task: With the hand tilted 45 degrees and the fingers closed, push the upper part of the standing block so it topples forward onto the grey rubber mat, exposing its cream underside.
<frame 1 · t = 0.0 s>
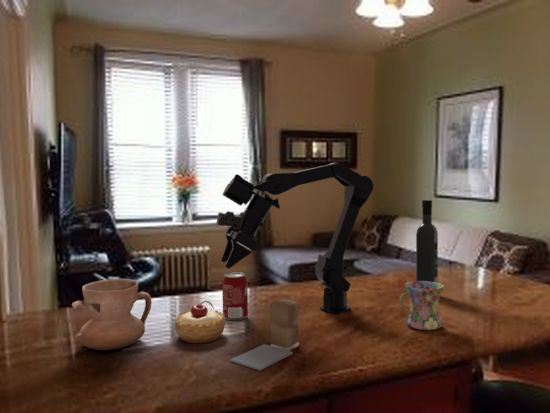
hand: (224, 264, 126), 15 cm above the counter, tool tilted 35°, fingers open, 9 cm apart
mug: (419, 328, 118), on the counter
soda can: (235, 318, 128), on the counter
mat: (262, 357, 100), on the counter
ceramic jug: (115, 344, 110), on the counter
pastry: (200, 337, 114), on the counter
wine bottle: (426, 296, 148), on the counter
block: (284, 346, 106), on the counter
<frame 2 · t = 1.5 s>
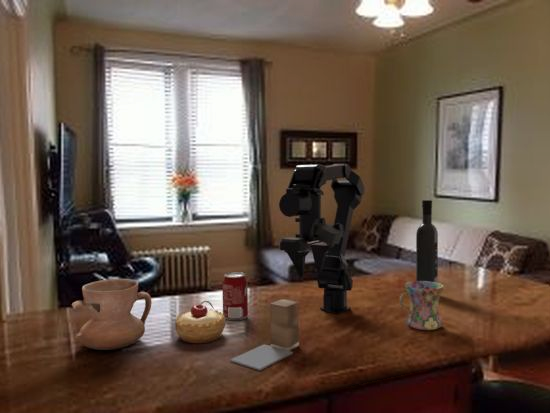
hand: (310, 274, 121), 13 cm above the counter, tool pointing down, fingers open, 8 cm apart
nothing on the counter moved.
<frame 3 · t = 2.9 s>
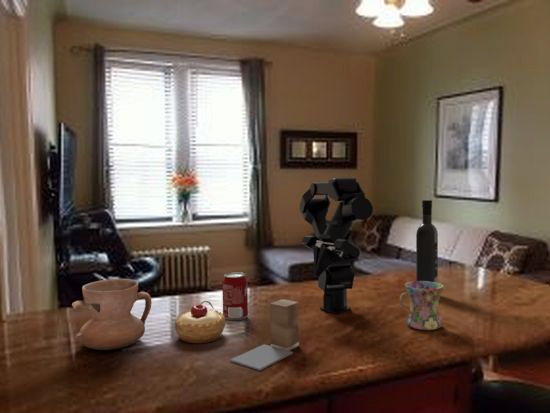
hand: (315, 276, 120), 13 cm above the counter, tool tilted 35°, fingers closed
nothing on the counter moved.
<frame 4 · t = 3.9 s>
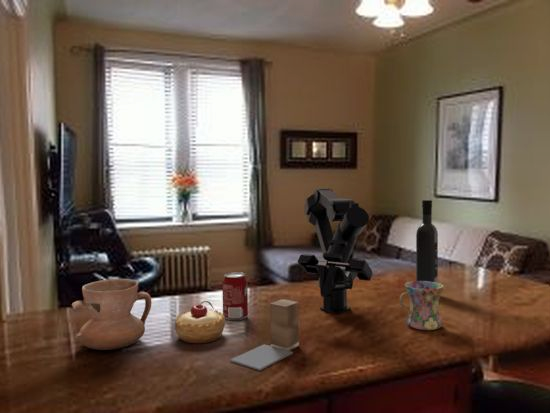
hand: (322, 296, 113), 9 cm above the counter, tool tilted 40°, fingers closed
nothing on the counter moved.
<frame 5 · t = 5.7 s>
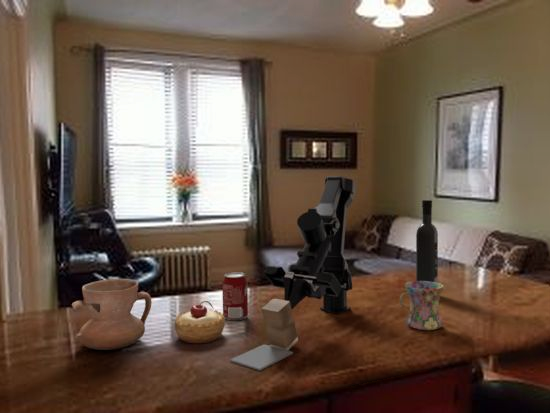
hand: (286, 311, 105), 8 cm above the counter, tool tilted 45°, fingers closed, pressing on block
block: (284, 343, 106), point 1 cm above the counter, tilted 17°, touching gripper
everything else where it was.
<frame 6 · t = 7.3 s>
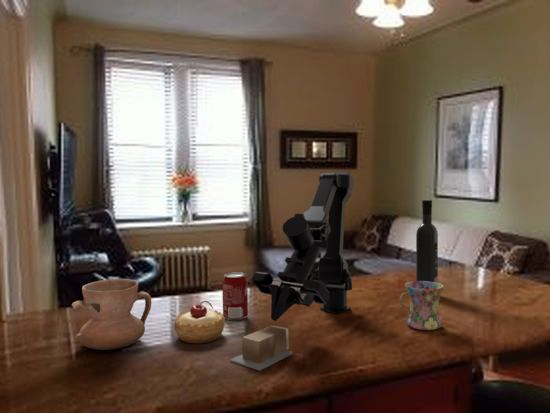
hand: (273, 319, 103), 7 cm above the counter, tool tilted 45°, fingers closed
block: (280, 336, 105), point 3 cm above the counter, tilted 90°, touching mat
everything else where it was.
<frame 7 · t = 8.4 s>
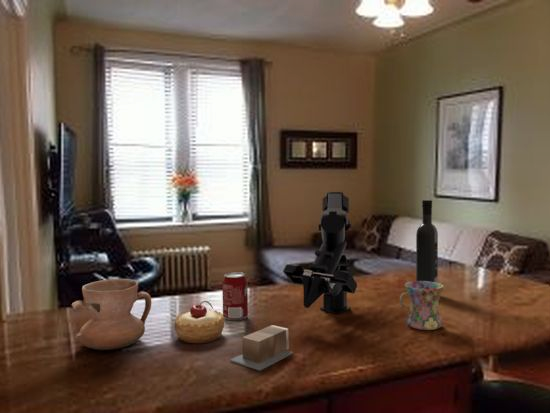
hand: (305, 307, 112), 7 cm above the counter, tool tilted 45°, fingers closed
nothing on the counter moved.
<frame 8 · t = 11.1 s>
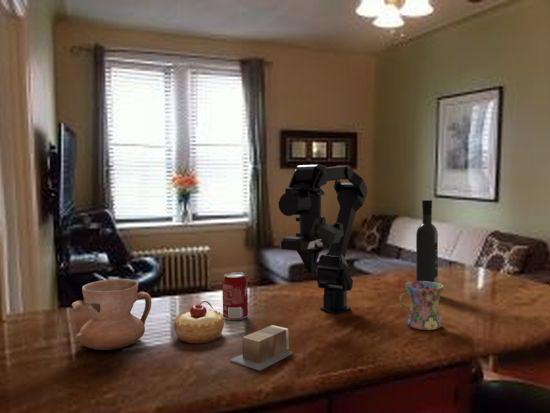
hand: (310, 273, 122), 13 cm above the counter, tool pointing down, fingers closed
nothing on the counter moved.
at the end: block tilted 90°; block 6.5 cm from the mat (horizontally); the gripper is holding nothing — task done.
